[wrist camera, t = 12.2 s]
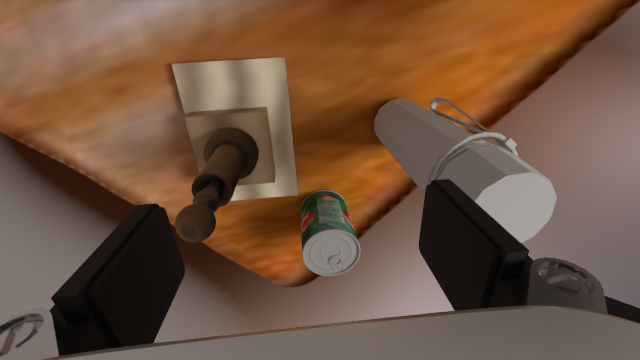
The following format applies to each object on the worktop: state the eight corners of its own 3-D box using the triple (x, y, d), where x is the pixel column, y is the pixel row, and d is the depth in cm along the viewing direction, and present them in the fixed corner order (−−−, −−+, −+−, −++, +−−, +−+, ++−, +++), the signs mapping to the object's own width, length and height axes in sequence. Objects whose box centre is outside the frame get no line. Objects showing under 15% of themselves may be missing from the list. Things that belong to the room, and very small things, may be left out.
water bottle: (396, 155, 45) (498, 270, 23) (360, 125, 42) (434, 222, 20) (440, 108, 42) (606, 186, 20) (404, 73, 40) (547, 118, 17)
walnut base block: (267, 106, 39) (265, 111, 36) (275, 173, 43) (274, 182, 41) (191, 111, 38) (184, 117, 36) (208, 179, 43) (202, 188, 40)
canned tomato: (292, 200, 47) (292, 243, 37) (337, 182, 46) (348, 221, 36) (311, 235, 51) (316, 283, 41) (353, 219, 50) (368, 264, 40)
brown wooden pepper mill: (200, 161, 38) (134, 249, 22) (217, 118, 36) (157, 182, 20) (247, 180, 40) (217, 275, 24) (266, 140, 38) (247, 216, 22)
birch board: (284, 56, 38) (284, 57, 36) (297, 191, 46) (298, 195, 45) (175, 63, 37) (171, 64, 36) (209, 198, 46) (207, 202, 45)
